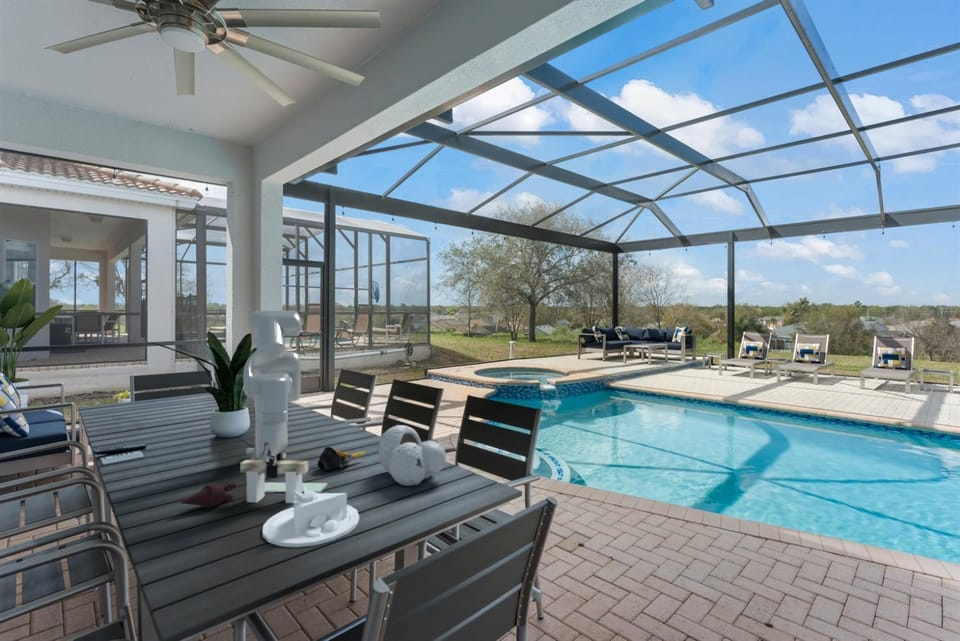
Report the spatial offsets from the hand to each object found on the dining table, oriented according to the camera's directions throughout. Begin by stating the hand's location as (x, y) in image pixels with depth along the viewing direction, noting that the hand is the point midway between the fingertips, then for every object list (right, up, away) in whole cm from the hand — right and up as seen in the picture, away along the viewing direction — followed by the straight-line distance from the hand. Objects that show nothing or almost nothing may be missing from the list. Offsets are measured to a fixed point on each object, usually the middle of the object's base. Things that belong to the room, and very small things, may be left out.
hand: (274, 474), depth 142 cm
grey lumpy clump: (+39, -8, +19) cm, 44 cm away
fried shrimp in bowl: (+12, -8, +31) cm, 34 cm away
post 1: (-6, -8, 0) cm, 10 cm away
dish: (+18, -9, -17) cm, 26 cm away
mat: (0, -8, +9) cm, 12 cm away
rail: (0, +1, 0) cm, 1 cm away
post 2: (+6, -8, 0) cm, 10 cm away
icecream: (-17, -8, -6) cm, 19 cm away
